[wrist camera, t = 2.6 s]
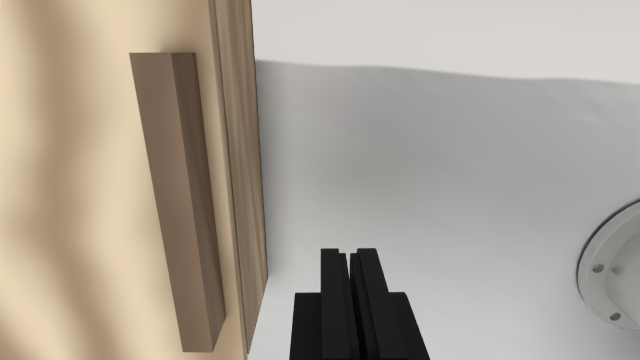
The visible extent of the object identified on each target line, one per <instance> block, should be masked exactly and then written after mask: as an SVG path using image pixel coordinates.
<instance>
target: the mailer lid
mask: <svg viewBox="0 0 640 360" xmlns="http://www.w3.org/2000/svg"><path fill="white" fill-rule="evenodd" d="M247 359H248V358H247V347H246V337H245V326H244V316H243V305H242V295H241V284H240V274H239V263H238V253H237V242H236V231H235V221H234V210H233V200H232V189H231V179H230V168H229V158H228V147H227V137H226V126H225V116H224V105H223V95H222V84H221V74H220V63H219V53H218V42H217V32H216V21H215V11H214V0H0V360H247Z"/></svg>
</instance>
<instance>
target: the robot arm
mask: <svg viewBox="0 0 640 360" xmlns="http://www.w3.org/2000/svg"><path fill="white" fill-rule="evenodd" d="M578 285H579V290H580V293H581V295H582V298H583V300H584V301H585V302H586V304H587V305H588V306H589V308H591V309H592V310H593V311H594V312H595V313H596V314H597V315H598V316H599V317H600V318H602V319H603V320H604V321H606V322H608V323H609V324H612V325H615V326H617V327H620V328H625V329H630V330H640V202H638V203H636V204H634V205H632V206H630V207H628V208H626V209H625V210H623V211H622V212H620V213H619V214H617V215H616V216H614V217H613V218H612V219H611V220H610V221H609V222H607V223H606V224H605V225H604V226H603V227H602V228H601V229H600V230H599V231H598V232H597V234H596V235H595V236H594V237H593V238H592V240H591V241H590V243H589V245H588V246H587V248H586V250H585V251H584V254H583V256H582V259H581V262H580V264H579V271H578ZM289 360H430V358H429V355H428V352H427V349H426V347H425V344H424V341H423V339H422V336H421V333H420V330H419V328H418V325H417V322H416V319H415V317H414V314H413V311H412V309H411V306H410V303H409V300H408V298H407V295H406V294H405V293H404V292H389V291H388V287H387V284H386V281H385V277H384V274H383V271H382V267H381V264H380V261H379V257H378V254H377V251H376V249H375V248H358V249H357V253H351V255H350V278H349V274H348V267H347V260H346V254H345V253H339V249H321V293H295V300H294V312H293V323H292V335H291V346H290V358H289Z"/></svg>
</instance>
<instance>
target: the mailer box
mask: <svg viewBox="0 0 640 360" xmlns="http://www.w3.org/2000/svg"><path fill="white" fill-rule="evenodd" d="M214 11H215V21H216V32H217V42H218V53H219V63H220V74H221V84H222V95H223V105H224V116H225V126H226V137H227V147H228V158H229V168H230V179H231V189H232V200H233V210H234V221H235V231H236V242H237V253H238V263H239V274H240V284H241V295H242V305H243V316H244V326H245V337H246V347H247V354H249V351H250V347H251V343H252V339H253V335H254V331H255V327H256V323H257V319H258V315H259V311H260V307H261V303H262V299H263V295H264V291H265V287H266V283H267V279H268V270H267V253H266V237H265V221H264V204H263V188H262V172H261V155H260V139H259V123H258V106H257V90H256V74H255V57H254V43H253V42H254V41H253V25H252V8H251V0H214Z"/></svg>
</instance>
